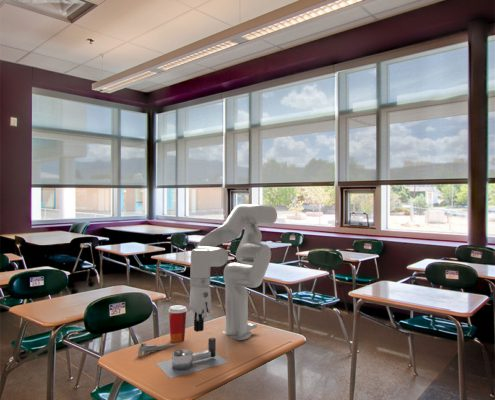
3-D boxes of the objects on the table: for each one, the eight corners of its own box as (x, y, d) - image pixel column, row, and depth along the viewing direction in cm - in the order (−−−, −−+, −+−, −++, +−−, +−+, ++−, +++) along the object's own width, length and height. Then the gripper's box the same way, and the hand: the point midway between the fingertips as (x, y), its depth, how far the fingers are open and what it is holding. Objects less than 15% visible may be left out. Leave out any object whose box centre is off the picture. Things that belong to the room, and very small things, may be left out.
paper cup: (179, 336, 162) (179, 303, 162) (190, 340, 156) (190, 307, 156) (164, 340, 156) (164, 307, 156) (175, 346, 151) (175, 311, 151)
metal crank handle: (210, 353, 140) (210, 335, 139) (219, 360, 134) (219, 341, 134) (169, 363, 131) (169, 344, 131) (176, 371, 125) (176, 351, 125)
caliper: (139, 361, 137) (139, 344, 137) (138, 360, 137) (138, 343, 137) (184, 346, 151) (185, 330, 151) (183, 345, 152) (183, 330, 152)
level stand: (211, 353, 144) (211, 349, 144) (228, 366, 133) (228, 362, 133) (155, 367, 132) (155, 362, 132) (169, 382, 121) (169, 377, 121)
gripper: (218, 284, 137) (216, 334, 137) (200, 277, 150) (199, 323, 149) (199, 286, 133) (198, 338, 133) (182, 279, 146) (181, 326, 145)
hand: (198, 330), depth 141 cm, fingers closed
